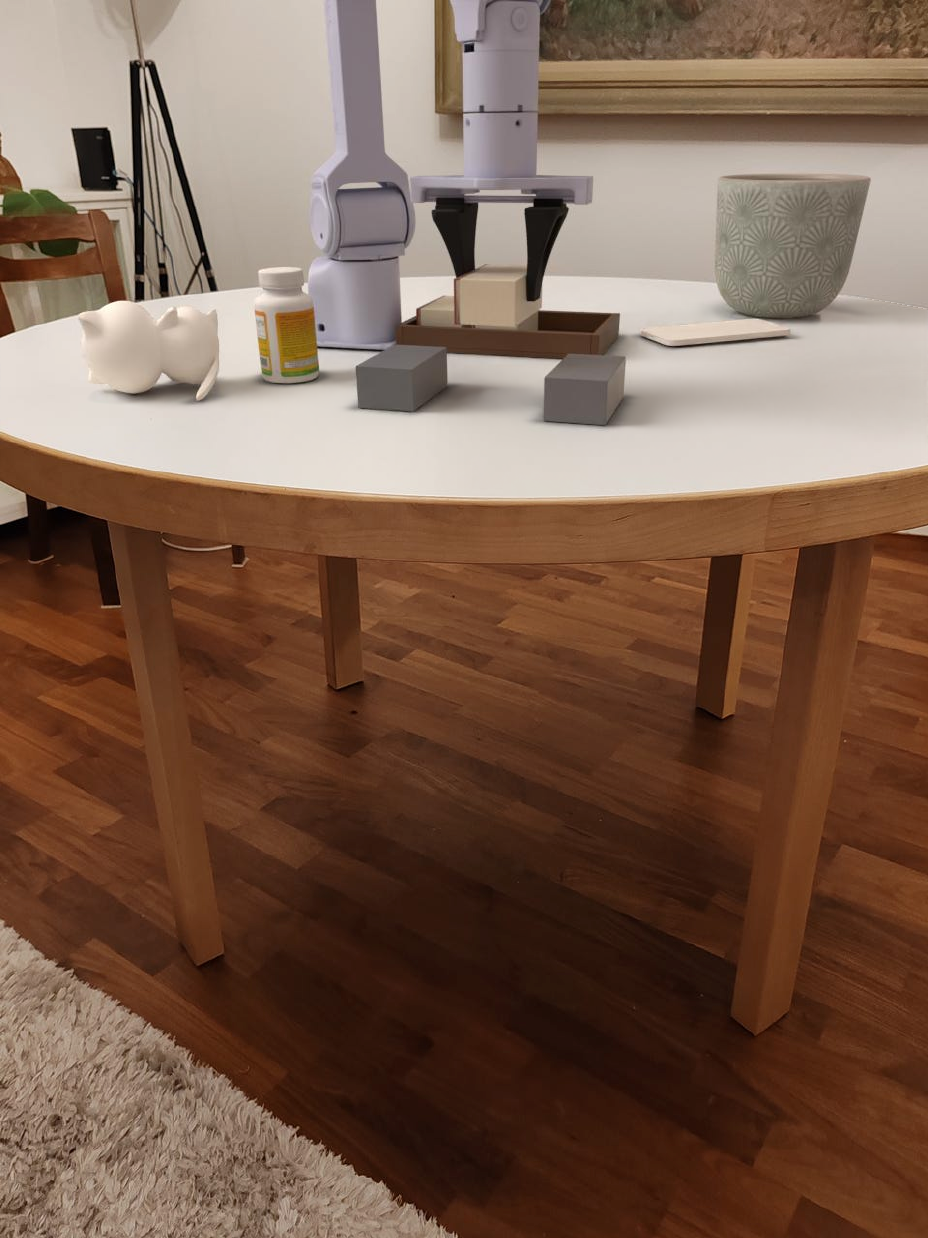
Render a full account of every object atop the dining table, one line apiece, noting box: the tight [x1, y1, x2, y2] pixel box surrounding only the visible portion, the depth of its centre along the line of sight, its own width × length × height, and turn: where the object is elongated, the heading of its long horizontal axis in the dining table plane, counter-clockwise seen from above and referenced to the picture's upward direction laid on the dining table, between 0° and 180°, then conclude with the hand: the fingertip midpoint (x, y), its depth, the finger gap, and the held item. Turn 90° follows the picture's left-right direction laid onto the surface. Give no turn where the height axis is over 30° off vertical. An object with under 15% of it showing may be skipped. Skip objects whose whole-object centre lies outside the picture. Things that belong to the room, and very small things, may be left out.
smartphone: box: [640, 318, 791, 347], centre depth 104 cm, size 7×1×15 cm
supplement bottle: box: [253, 266, 320, 384], centre depth 88 cm, size 5×5×10 cm
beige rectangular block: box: [453, 263, 543, 327], centre depth 79 cm, size 5×9×4 cm, turn 162°
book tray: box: [396, 309, 621, 360], centre depth 102 cm, size 22×13×2 cm, turn 73°
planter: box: [714, 173, 872, 319], centre depth 114 cm, size 17×17×15 cm
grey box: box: [542, 354, 627, 426], centre depth 78 cm, size 5×9×4 cm, turn 163°
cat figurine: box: [77, 300, 220, 401], centre depth 84 cm, size 9×11×12 cm
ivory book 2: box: [471, 311, 538, 331], centre depth 102 cm, size 5×9×4 cm, turn 163°
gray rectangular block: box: [355, 345, 448, 413], centre depth 82 cm, size 5×9×4 cm, turn 163°
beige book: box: [415, 295, 471, 328], centre depth 104 cm, size 5×9×4 cm, turn 163°
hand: (499, 298), depth 79 cm, fingers closed on beige rectangular block, 5 cm apart
